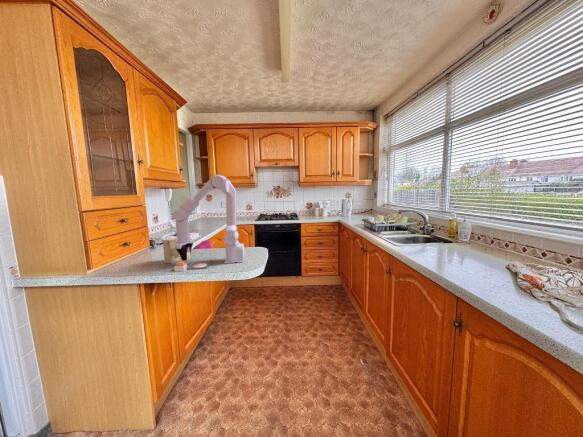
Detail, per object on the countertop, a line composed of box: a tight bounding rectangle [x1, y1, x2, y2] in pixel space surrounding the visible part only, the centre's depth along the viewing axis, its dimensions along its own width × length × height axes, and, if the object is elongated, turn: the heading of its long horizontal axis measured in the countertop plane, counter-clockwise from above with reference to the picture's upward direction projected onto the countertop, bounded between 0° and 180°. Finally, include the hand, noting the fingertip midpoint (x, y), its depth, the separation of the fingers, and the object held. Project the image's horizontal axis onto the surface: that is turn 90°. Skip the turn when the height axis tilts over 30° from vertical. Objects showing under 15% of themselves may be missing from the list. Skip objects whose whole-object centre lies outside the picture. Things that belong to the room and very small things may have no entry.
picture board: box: [186, 260, 213, 270], centre depth 114 cm, size 9×10×1 cm
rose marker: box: [185, 247, 192, 265], centre depth 117 cm, size 4×4×8 cm
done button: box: [175, 260, 185, 266], centre depth 109 cm, size 3×3×2 cm
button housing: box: [173, 263, 188, 272], centre depth 109 cm, size 4×4×2 cm
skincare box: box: [162, 237, 180, 264], centre depth 122 cm, size 6×4×12 cm
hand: (186, 258), depth 117 cm, fingers closed on rose marker, 4 cm apart
